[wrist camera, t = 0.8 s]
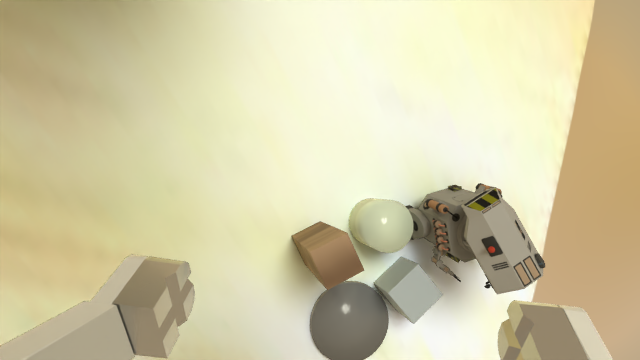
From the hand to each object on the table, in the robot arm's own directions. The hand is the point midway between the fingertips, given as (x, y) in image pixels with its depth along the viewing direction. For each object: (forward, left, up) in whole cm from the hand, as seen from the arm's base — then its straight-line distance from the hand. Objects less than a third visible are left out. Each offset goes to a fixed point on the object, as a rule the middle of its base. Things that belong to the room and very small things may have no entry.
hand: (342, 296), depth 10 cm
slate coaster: (+18, +4, -38) cm, 42 cm away
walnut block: (+7, +4, -38) cm, 39 cm away
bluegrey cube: (+17, +12, -38) cm, 43 cm away
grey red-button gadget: (+13, +20, -38) cm, 45 cm away
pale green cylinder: (+8, +12, -38) cm, 41 cm away
